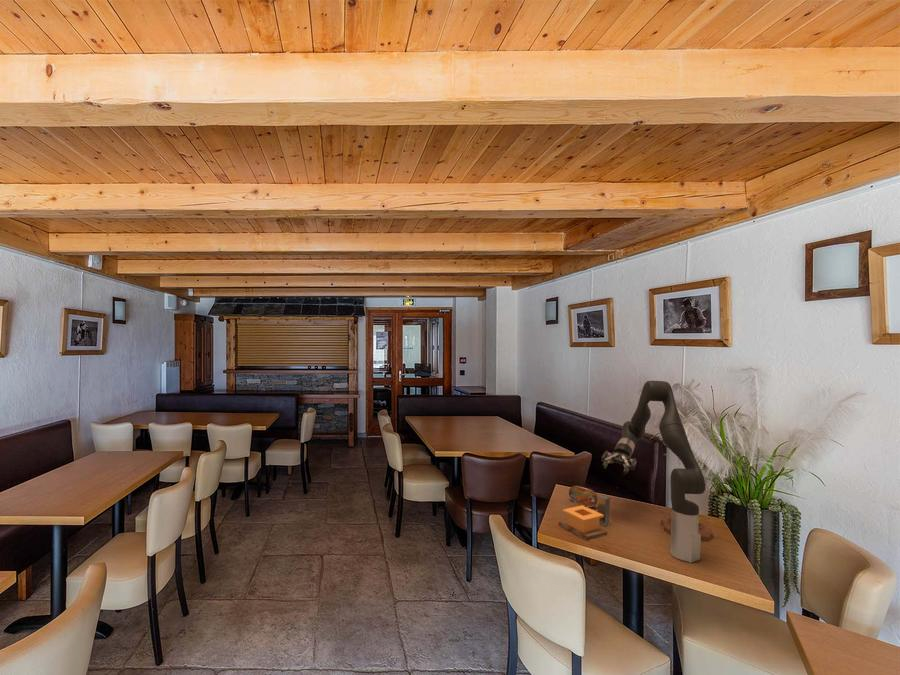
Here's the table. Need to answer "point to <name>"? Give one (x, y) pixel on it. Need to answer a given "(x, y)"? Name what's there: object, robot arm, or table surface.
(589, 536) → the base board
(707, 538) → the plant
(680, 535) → the robot arm
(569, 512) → the orange square collar
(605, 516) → the dark grey rectangular block
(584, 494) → the tin
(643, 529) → the table surface
